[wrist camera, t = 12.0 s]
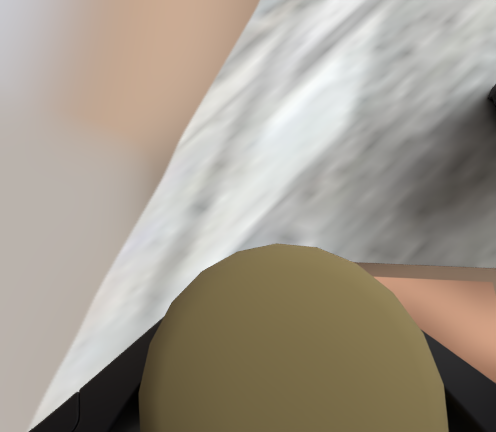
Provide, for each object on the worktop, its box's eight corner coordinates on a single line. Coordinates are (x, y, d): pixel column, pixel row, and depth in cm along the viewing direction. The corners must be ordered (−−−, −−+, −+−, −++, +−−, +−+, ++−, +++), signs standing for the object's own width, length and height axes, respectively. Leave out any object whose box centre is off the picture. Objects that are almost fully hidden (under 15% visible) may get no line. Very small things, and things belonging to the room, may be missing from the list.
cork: (307, 273, 15) (381, 150, 5) (364, 401, 13) (681, 609, 3) (197, 316, 15) (48, 270, 5) (236, 455, 13) (108, 910, 3)
